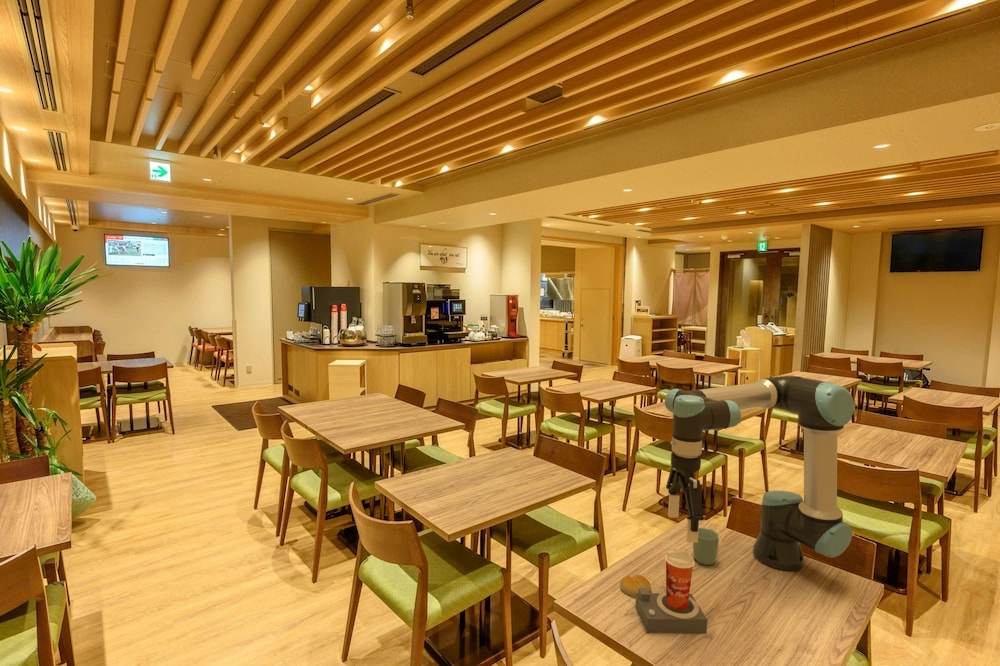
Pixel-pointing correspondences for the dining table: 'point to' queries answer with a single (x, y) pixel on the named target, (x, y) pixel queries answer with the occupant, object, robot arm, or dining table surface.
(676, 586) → the paper cup
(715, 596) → the dining table surface
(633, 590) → the bread roll
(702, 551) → the cup
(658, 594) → the block
